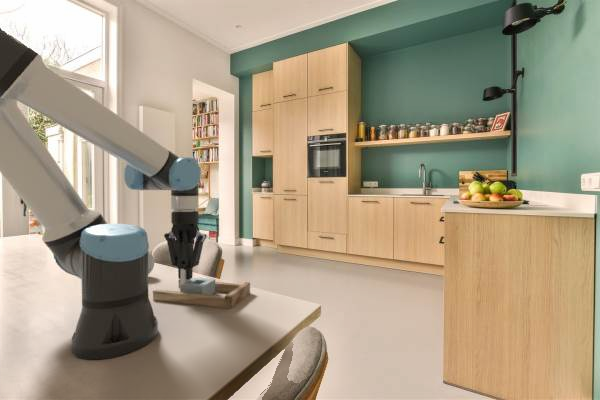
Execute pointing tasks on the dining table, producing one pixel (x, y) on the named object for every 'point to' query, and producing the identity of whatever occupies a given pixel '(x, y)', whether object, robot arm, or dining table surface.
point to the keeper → (199, 286)
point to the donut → (150, 262)
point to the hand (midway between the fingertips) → (185, 289)
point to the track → (228, 301)
